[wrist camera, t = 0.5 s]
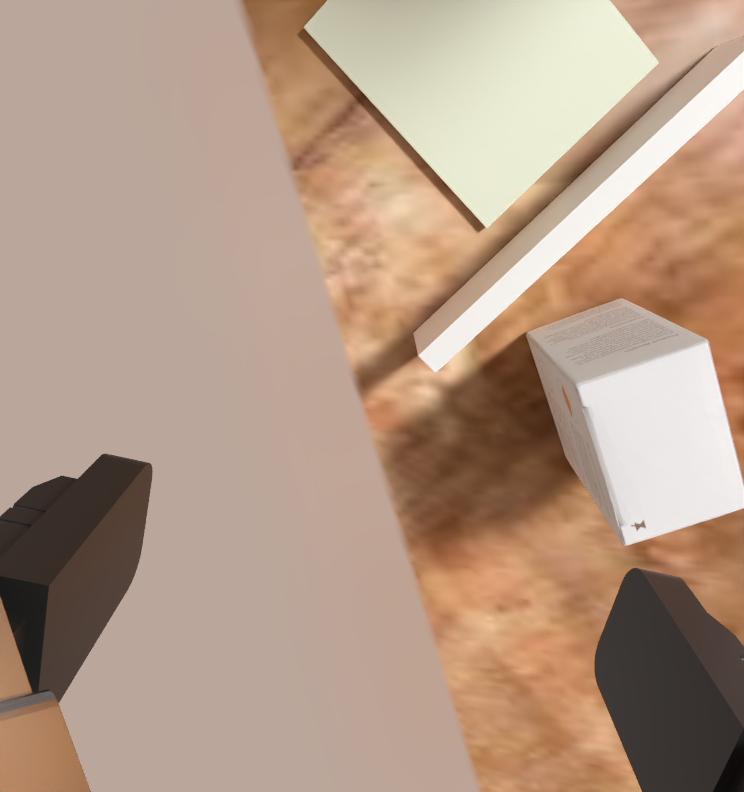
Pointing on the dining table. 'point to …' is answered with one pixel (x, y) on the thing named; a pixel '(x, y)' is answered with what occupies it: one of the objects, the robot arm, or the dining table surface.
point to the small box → (640, 418)
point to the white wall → (584, 203)
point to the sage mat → (486, 81)
